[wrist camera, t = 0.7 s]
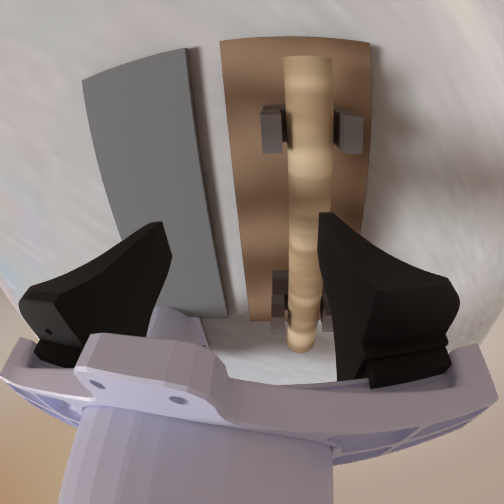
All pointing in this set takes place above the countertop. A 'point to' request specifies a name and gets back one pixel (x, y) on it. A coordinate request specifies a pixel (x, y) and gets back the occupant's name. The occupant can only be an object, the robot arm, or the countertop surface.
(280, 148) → the hook stand
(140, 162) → the mat
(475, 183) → the countertop surface
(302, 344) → the rail
